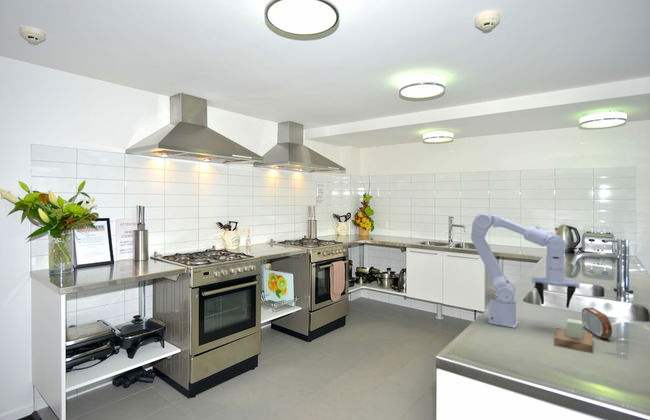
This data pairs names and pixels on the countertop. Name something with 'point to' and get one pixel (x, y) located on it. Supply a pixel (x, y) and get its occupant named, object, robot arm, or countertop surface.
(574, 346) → the walnut block
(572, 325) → the sage cube
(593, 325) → the tin
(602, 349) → the countertop surface
